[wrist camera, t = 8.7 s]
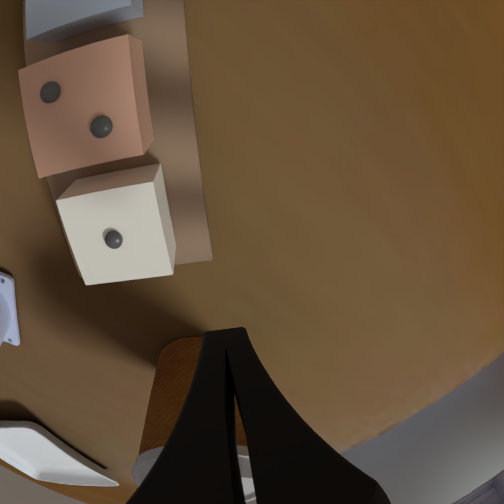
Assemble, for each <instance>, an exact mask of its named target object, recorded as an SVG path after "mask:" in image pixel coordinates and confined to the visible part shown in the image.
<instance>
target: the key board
mask: <svg viewBox="0 0 504 504" xmlns="http://www.w3.org/2000/svg"><path fill="white" fill-rule="evenodd" d="M25 2H26V0H23V36H24V51H25V62H26V67H27V66H29V65H32V64H34V63H37V62H39V61H42V60H45V59H47V58H50V57H53V56H55V55H58V54H61V53H64V52H67V51H70V50H73V49H76V48H79V47H82V46H85V45H89V44H92V43H96V42H99V41H103V40H107V39H110V38H114V37H118V36H123V35H127V34H129V35H131V36H133V37H135V38H136V39H138V40H140V41H142V46H143V57H144V67H145V76H146V85H147V93H148V101H149V108H150V116H151V123H152V130H153V136H154V140H153V142H152V143H151V145H150V146H149V148H148V149H147V151H146V152H145V153H144V155H140V156H134V157H129V158H124V159H119V160H114V161H109V162H104V163H100V164H95V165H91V166H86V167H82V168H78V169H73V170H69V171H65V172H61V173H57V174H53V175H50V176H46V177H47V181H48V185H49V188H50V192H51V195H52V199H53V202H54V205H55V208H56V212H57V215H58V218H59V221H60V224H61V227H62V230H63V233H64V236H65V239H66V242H67V244H68V247H69V250H70V253H71V255H72V258H73V261H74V263H75V266H76V268H77V271H78V273H79V276H80V277H82V275H81V272H80V270H79V267H78V264H77V262H76V259H75V256H74V254H73V251H72V248H71V245H70V243H69V240H68V237H67V234H66V231H65V228H64V225H63V222H62V219H61V216H60V213H59V209H58V206H57V203H56V200H57V199H58V198H59V197H60V196H61V195H62V194H63V193H64V192H65V191H66V189H67V188H68V187H69V186H70V185H71V184H72V183H73V182H74V181H75V180H77V179H82V178H86V177H91V176H95V175H100V174H105V173H110V172H115V171H120V170H125V169H130V168H136V167H142V166H147V165H153V164H159V163H161V167H162V173H163V179H164V184H165V190H166V196H167V201H168V206H169V212H170V217H171V222H172V227H173V232H174V237H175V242H176V251H175V260H174V265H178V264H186V263H193V262H201V261H208V260H213V256H212V247H211V240H210V233H209V227H208V219H207V212H206V205H205V198H204V190H203V183H202V175H201V167H200V159H199V151H198V142H197V134H196V125H195V116H194V107H193V97H192V87H191V77H190V67H189V56H188V44H187V32H186V19H185V5H184V0H143V15H144V17H139V18H135V19H130V20H126V21H122V22H118V23H114V24H110V25H106V26H102V27H99V28H95V29H92V30H89V31H85V32H82V33H79V34H76V35H73V36H70V37H67V38H64V39H61V40H58V41H56V42H46V41H36V40H27V38H26V6H25Z"/></svg>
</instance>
